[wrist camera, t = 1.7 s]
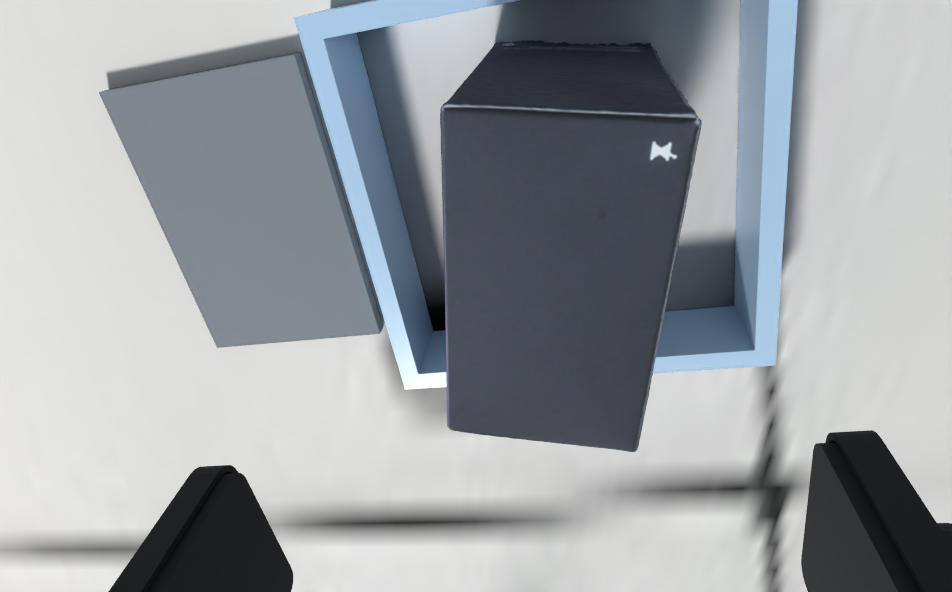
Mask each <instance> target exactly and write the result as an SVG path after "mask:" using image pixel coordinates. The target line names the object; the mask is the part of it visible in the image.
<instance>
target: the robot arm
mask: <svg viewBox="0 0 952 592" xmlns="http://www.w3.org/2000/svg"><path fill="white" fill-rule="evenodd" d="M801 564H802V572H803V577H804V581H805V584H806V587H807V590H808V592H952V524H950V523H936V521H935V520H934V518H933V517H932V515H931V514H930V512H929V511H928V509H927V508H926V506H925V505H924V503H923V502H922V500H921V498H920V497H919V495H918V494H917V492H916V491H915V489H914V488H913V486H912V485H911V483H910V482H909V480H908V479H907V477H906V476H905V474H904V473H903V471H902V469H901V468H900V466H899V465H898V463H897V462H896V460H895V459H894V457H893V456H892V454H891V453H890V451H889V450H888V448H887V447H886V445H885V444H884V442H883V441H882V439H881V438H880V436H879V435H878V434H877V433H876V432H874V431H854V432H836V433H829V434H828V436H827V438H826V443H819V444H815V446H814V450H813V459H812V468H811V477H810V487H809V496H808V505H807V514H806V523H805V532H804V541H803V550H802V561H801ZM292 585H293V572H292V569H291V566H290V564H289V563H288V561H287V559H286V557H285V555H284V553H283V551H282V549H281V547H280V545H279V543H278V541H277V539H276V537H275V535H274V533H273V531H272V529H271V527H270V525H269V523H268V521H267V519H266V517H265V515H264V513H263V511H262V509H261V507H260V505H259V503H258V501H257V499H256V497H255V495H254V493H253V491H252V489H251V488H250V486H249V484H248V482H247V480H246V478H245V476H244V475H243V474H241V473H238V471H237V470H236V469H235V468H234V467H233V466H231V465H226V466H207V467H199V468H197V469H195V470H194V471H193V472H192V473H191V474H190V476H189V477H188V478H187V480H186V481H185V483H184V484H183V486H182V487H181V489H180V490H179V491H178V493H177V494H176V496H175V497H174V499H173V500H172V501H171V503H170V504H169V506H168V507H167V509H166V510H165V512H164V513H163V514H162V516H161V517H160V519H159V520H158V522H157V523H156V524H155V526H154V527H153V529H152V530H151V532H150V533H149V535H148V536H147V537H146V539H145V540H144V542H143V543H142V545H141V546H140V547H139V549H138V550H137V552H136V553H135V555H134V556H133V558H132V559H131V560H130V562H129V563H128V565H127V566H126V568H125V569H124V570H123V572H122V573H121V575H120V576H119V578H118V579H117V580H116V582H115V583H114V585H113V586H112V588H111V589H110V591H109V592H291V589H292Z"/></svg>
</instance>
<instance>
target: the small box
mask: <svg viewBox="0 0 952 592" xmlns="http://www.w3.org/2000/svg"><path fill="white" fill-rule="evenodd" d="M440 124H441V158H442V198H443V237H444V277H445V325H446V382H447V426H448V428H449V429H451V430H453V431H460V432H467V433H473V434H481V435H491V436H497V437H509V438H515V439H526V440H533V441H544V442H553V443H561V444H571V445H579V446H588V447H598V448H608V449H616V450H623V451H629V452H635V451H636V450H637V448H638V445H639V439H640V435H641V430H642V425H643V420H644V415H645V410H646V405H647V400H648V396H649V390H650V384H651V378H652V375H653V370H654V364H655V359H656V355H657V349H658V344H659V339H660V335H661V330H662V325H663V320H664V314H665V309H666V304H667V300H668V292H669V288H670V284H671V278H672V271H673V266H674V262H675V257H676V253H677V248H678V243H679V236H680V231H681V227H682V222H683V218H684V213H685V208H686V202H687V197H688V191H689V186H690V180H691V177H692V168H693V165H694V160H695V154H696V149H697V144H698V140H699V135H700V130H701V120H700V119H699V118H698V116H697V114H696V112H695V111H694V110H693V109H692V108H691V106H690V105H689V104H688V102H687V100H686V99H685V97H684V95H683V94H682V92H681V91H680V90H679V88H678V86H677V85H676V84H675V82H674V81H673V80H672V79H671V77H670V75H669V74H668V72H667V71H666V69H665V68H664V66H663V65H662V63H661V61H660V59H659V57H658V55H657V52H656V50H655V49H654V48H653V47H652V46H651V44H650V43H647V44H645V45H644V44H641V43H635V44H628V45H617V44H615V43H611V44H609V45H606V44H599V45H597V44H594V45H590V44H588V43H587V44H569V43H566V42H564V43H545V42H544V41H541V40H538V41H532V40H531V41H520V42H511V43H510V42H498V43H495V45H494V46H493V48H492V49H491V50H490V51H489V52H488V54H487V55H486V56H485V58H484V59H483V60H482V61H481V62H480V64H479V65H478V66H477V67H476V68H475V70H474V71H473V72H472V73H471V74H470V75H469V77H468V78H467V79H466V80H465V81H464V83H463V84H462V85H461V86H460V87H459V88H458V90H457V91H456V92H455V93H454V95H453V96H452V97H451V98H450V99H449V100H448V101H447V102H446V103H444V104H443V106H442V107H441V113H440Z"/></svg>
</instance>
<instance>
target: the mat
mask: <svg viewBox="0 0 952 592" xmlns="http://www.w3.org/2000/svg"><path fill="white" fill-rule="evenodd" d="M99 94H100V96H101V98H102V100H103V103H104V105H105V107H106V109H107V111H108V113H109V115H110V118H111V120H112V122H113V124H114V126H115V128H116V131H117V133H118V135H119V137H120V139H121V141H122V143H123V146H124V148H125V150H126V152H127V154H128V156H129V159H130V161H131V163H132V165H133V167H134V169H135V171H136V174H137V176H138V178H139V180H140V182H141V184H142V187H143V189H144V191H145V193H146V195H147V197H148V199H149V202H150V204H151V206H152V208H153V210H154V212H155V215H156V217H157V219H158V221H159V223H160V225H161V228H162V230H163V232H164V234H165V236H166V238H167V240H168V243H169V245H170V247H171V249H172V251H173V253H174V256H175V258H176V260H177V262H178V264H179V266H180V268H181V271H182V273H183V275H184V277H185V279H186V281H187V284H188V286H189V288H190V290H191V292H192V294H193V296H194V299H195V301H196V303H197V305H198V307H199V309H200V312H201V314H202V316H203V318H204V320H205V322H206V324H207V327H208V329H209V331H210V333H211V335H212V337H213V340H214V342H215V344H216V346H217V348H219V347H231V346H242V345H254V344H266V343H277V342H289V341H300V340H312V339H323V338H335V337H347V336H358V335H370V334H380V332H381V330H382V328H383V325H382V322H381V318H380V315H379V312H378V308H377V305H376V302H375V298H374V295H373V292H372V289H371V285H370V282H369V279H368V275H367V272H366V269H365V265H364V262H363V259H362V255H361V252H360V249H359V246H358V242H357V239H356V236H355V232H354V229H353V226H352V222H351V219H350V216H349V213H348V209H347V206H346V203H345V199H344V196H343V193H342V189H341V186H340V183H339V179H338V176H337V173H336V170H335V166H334V163H333V160H332V156H331V153H330V150H329V146H328V143H327V140H326V136H325V133H324V130H323V127H322V123H321V120H320V117H319V113H318V110H317V107H316V103H315V100H314V97H313V93H312V90H311V87H310V84H309V80H308V77H307V74H306V70H305V67H304V64H303V60H302V57H301V54H300V53H295V54H290V55H285V56H280V57H274V58H269V59H264V60H259V61H254V62H249V63H243V64H238V65H233V66H228V67H223V68H218V69H212V70H207V71H202V72H197V73H192V74H187V75H181V76H176V77H171V78H166V79H161V80H156V81H150V82H145V83H140V84H135V85H130V86H125V87H119V88H114V89H109V90H106V91H102V92H99Z"/></svg>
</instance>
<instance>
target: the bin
mask: <svg viewBox="0 0 952 592" xmlns="http://www.w3.org/2000/svg"><path fill="white" fill-rule="evenodd" d="M514 1H519V0H370V1H365V2H360V3H356V4H351V5H346V6H341V7H336V8H332V9H327V10H323V11H319V12H315V13H311V14H307V15H303V16H299V17H295V18H294V20H295V23H296V26H297V30H298V33H299V36H300V40H301V43H302V46H303V50H304V53H305V56H306V60H307V63H308V66H309V70H310V73H311V76H312V80H313V83H314V86H315V90H316V93H317V96H318V100H319V103H320V107H321V110H322V113H323V117H324V120H325V123H326V127H327V130H328V133H329V137H330V140H331V143H332V147H333V150H334V153H335V157H336V160H337V163H338V167H339V170H340V173H341V177H342V180H343V183H344V187H345V190H346V193H347V197H348V200H349V203H350V207H351V210H352V213H353V217H354V220H355V223H356V227H357V230H358V233H359V237H360V240H361V243H362V247H363V250H364V253H365V257H366V260H367V264H368V267H369V270H370V274H371V277H372V280H373V284H374V287H375V290H376V294H377V297H378V300H379V304H380V307H381V310H382V314H383V317H384V320H385V324H386V327H387V330H388V334H389V337H390V340H391V344H392V347H393V350H394V354H395V357H396V360H397V364H398V367H399V370H400V374H401V377H402V380H403V384H404V387H405V390H406V389H421V388H437V387H447V382H446V330H443V331H433V328H432V324H431V320H430V316H429V312H428V308H427V305H426V301H425V297H424V293H423V289H422V285H421V281H420V277H419V273H418V270H417V266H416V262H415V258H414V254H413V250H412V246H411V242H410V238H409V235H408V231H407V227H406V223H405V219H404V215H403V211H402V207H401V203H400V200H399V196H398V192H397V188H396V184H395V180H394V176H393V172H392V168H391V165H390V161H389V157H388V153H387V149H386V145H385V141H384V137H383V133H382V130H381V126H380V122H379V118H378V114H377V110H376V106H375V102H374V98H373V95H372V91H371V87H370V83H369V79H368V75H367V71H366V67H365V63H364V60H363V56H362V52H361V48H360V44H359V40H358V36H357V32H361V31H367V30H372V29H377V28H382V27H387V26H392V25H397V24H402V23H407V22H412V21H417V20H422V19H427V18H433V17H438V16H443V15H448V14H453V13H458V12H463V11H468V10H473V9H478V8H483V7H488V6H493V5H499V4H504V3H509V2H514ZM797 7H798V0H741V5H740V54H739V103H738V151H737V200H736V249H735V298H734V306H724V307H713V308H701V309H689V310H677V311H666V312H665V314H664V320H663V325H662V330H661V335H660V339H659V344H658V349H657V355H656V359H655V364H654V370H653V373H666V372H681V371H696V370H712V369H727V368H742V367H758V366H773V365H776V351H777V335H778V318H779V302H780V286H781V269H782V253H783V236H784V220H785V204H786V187H787V171H788V154H789V138H790V122H791V105H792V89H793V72H794V56H795V40H796V23H797Z"/></svg>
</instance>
